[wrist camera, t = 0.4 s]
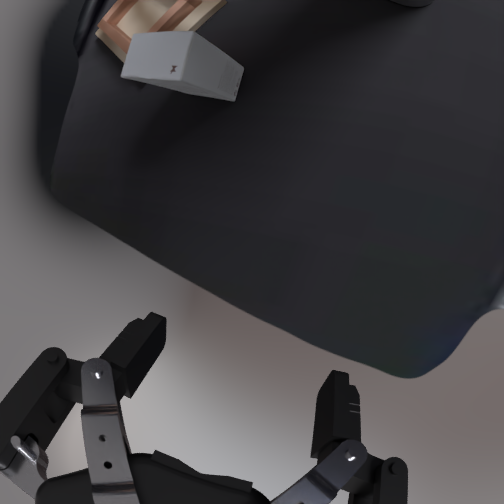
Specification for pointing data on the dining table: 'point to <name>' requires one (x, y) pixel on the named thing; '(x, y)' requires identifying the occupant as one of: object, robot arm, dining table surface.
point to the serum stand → (152, 19)
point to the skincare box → (182, 64)
